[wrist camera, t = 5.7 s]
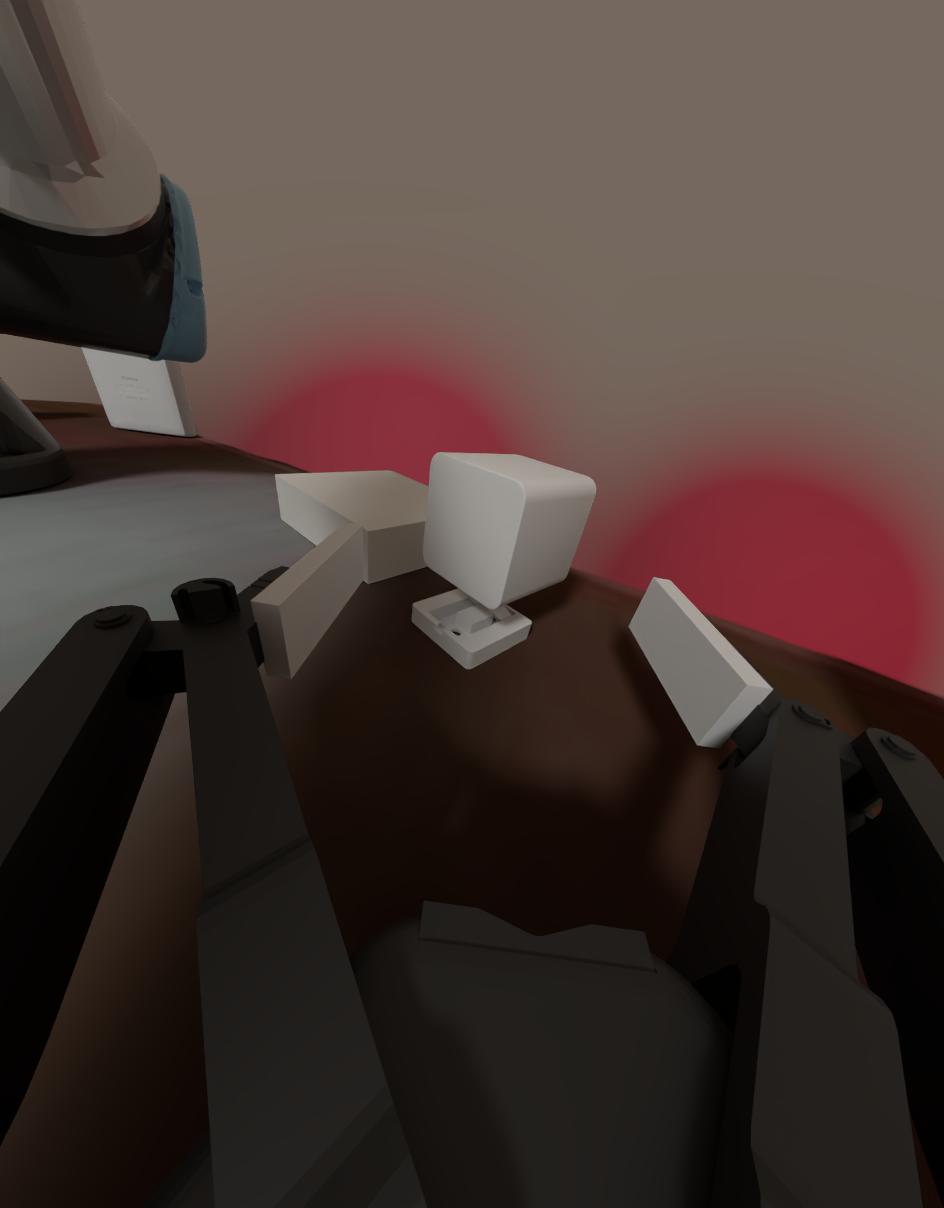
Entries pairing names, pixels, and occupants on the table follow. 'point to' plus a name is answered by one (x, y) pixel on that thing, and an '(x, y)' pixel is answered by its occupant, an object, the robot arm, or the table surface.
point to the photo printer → (142, 393)
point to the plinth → (361, 514)
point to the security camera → (495, 546)
